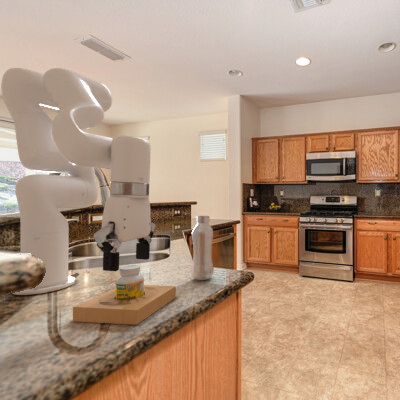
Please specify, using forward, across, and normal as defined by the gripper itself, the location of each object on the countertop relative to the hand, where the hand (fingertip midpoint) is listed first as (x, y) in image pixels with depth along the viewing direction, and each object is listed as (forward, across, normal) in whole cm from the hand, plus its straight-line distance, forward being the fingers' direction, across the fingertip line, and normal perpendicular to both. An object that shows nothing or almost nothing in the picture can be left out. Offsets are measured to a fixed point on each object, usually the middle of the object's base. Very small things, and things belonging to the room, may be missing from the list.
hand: (128, 264), depth 59 cm
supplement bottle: (+10, 0, +1) cm, 10 cm away
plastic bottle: (+10, -22, +8) cm, 25 cm away
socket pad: (+10, 0, +1) cm, 10 cm away
